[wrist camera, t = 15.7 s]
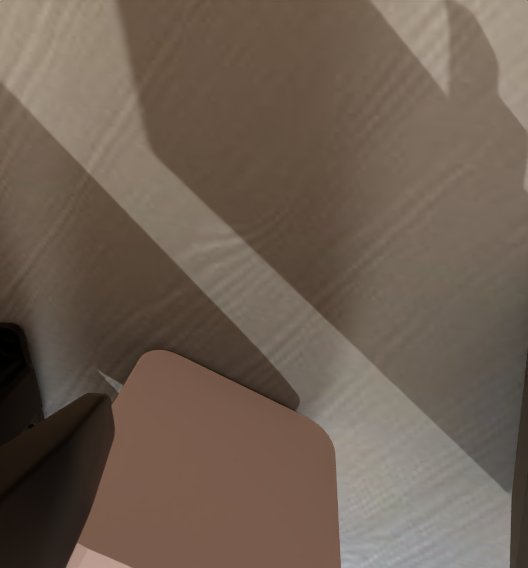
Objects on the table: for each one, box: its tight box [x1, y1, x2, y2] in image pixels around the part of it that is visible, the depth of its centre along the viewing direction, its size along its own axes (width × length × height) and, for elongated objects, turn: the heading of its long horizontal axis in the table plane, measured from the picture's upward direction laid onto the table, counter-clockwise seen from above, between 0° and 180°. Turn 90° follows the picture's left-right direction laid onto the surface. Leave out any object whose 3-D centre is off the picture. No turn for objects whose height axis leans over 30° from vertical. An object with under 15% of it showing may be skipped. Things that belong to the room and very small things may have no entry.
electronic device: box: [66, 350, 341, 568], centre depth 20 cm, size 10×5×10 cm, turn 62°
